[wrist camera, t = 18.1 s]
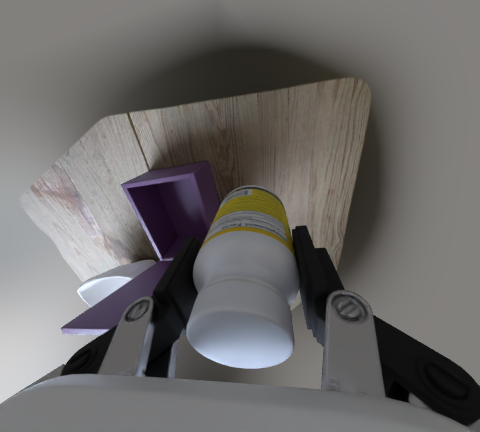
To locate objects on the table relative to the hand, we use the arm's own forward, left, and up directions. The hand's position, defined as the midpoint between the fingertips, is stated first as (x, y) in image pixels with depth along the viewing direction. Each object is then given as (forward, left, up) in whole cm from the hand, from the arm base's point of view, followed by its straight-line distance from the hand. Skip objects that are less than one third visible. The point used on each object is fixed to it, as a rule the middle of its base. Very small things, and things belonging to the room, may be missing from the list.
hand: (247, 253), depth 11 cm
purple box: (+8, -17, -27) cm, 33 cm away
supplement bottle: (0, 0, -5) cm, 5 cm away
